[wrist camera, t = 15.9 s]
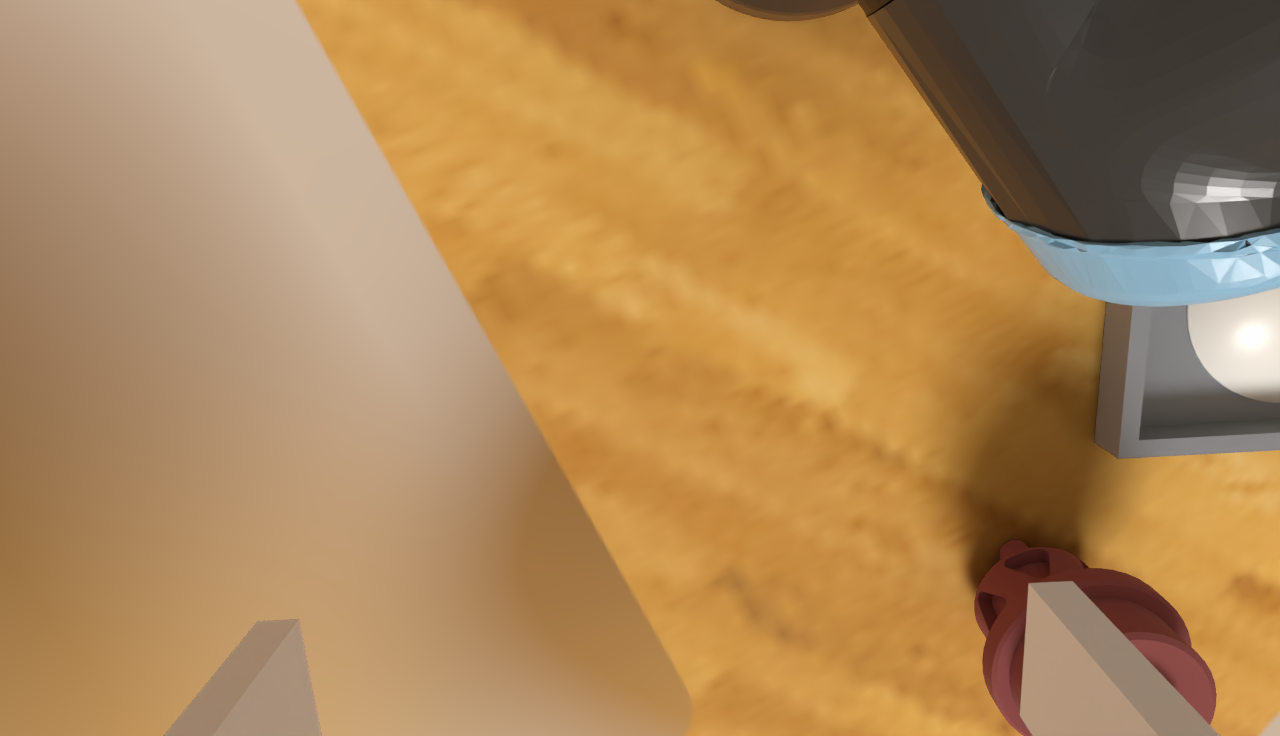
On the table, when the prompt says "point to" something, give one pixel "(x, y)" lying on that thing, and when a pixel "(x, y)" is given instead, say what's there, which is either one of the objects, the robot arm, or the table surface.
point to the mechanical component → (1117, 598)
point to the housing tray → (1190, 378)
